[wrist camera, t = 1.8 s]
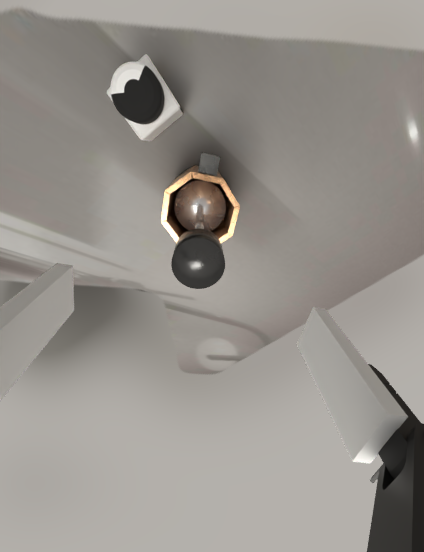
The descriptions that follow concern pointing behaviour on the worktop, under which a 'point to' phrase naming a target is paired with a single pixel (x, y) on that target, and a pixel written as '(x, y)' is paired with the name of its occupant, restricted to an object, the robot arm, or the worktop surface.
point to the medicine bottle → (143, 98)
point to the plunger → (199, 235)
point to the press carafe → (206, 173)
